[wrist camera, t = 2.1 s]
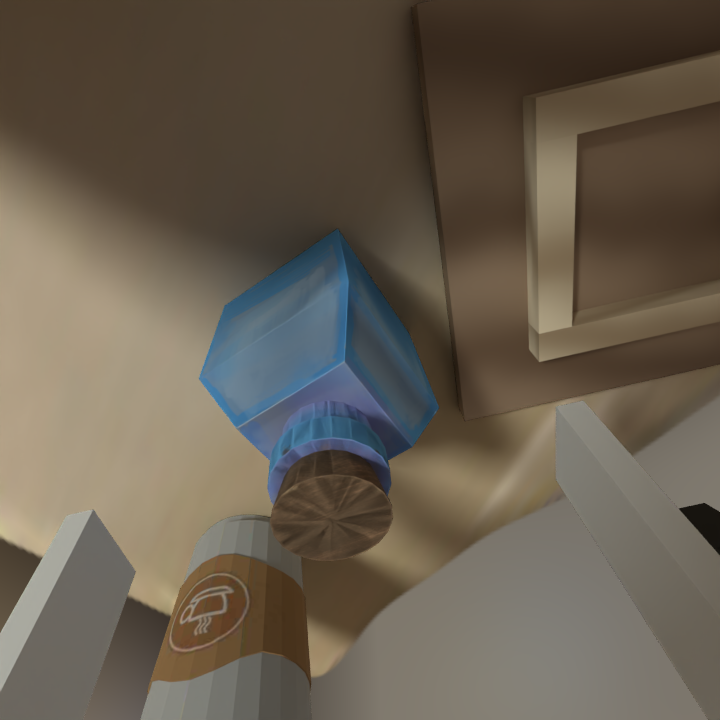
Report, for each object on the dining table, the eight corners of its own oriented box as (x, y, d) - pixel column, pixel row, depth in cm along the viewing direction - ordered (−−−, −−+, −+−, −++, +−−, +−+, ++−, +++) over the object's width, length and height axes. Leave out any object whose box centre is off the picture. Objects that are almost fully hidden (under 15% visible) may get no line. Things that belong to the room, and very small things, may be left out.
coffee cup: (288, 482, 28) (273, 836, 15) (333, 570, 32) (353, 904, 19) (152, 522, 28) (23, 897, 15) (215, 603, 32) (155, 950, 19)
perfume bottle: (305, 396, 25) (306, 622, 15) (224, 305, 22) (153, 507, 12) (409, 333, 24) (489, 532, 13) (337, 228, 21) (369, 377, 10)
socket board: (410, 7, 17) (424, -2, 15) (922, -115, 17) (1000, -140, 15) (459, 409, 26) (471, 435, 24) (789, 336, 26) (828, 356, 24)
